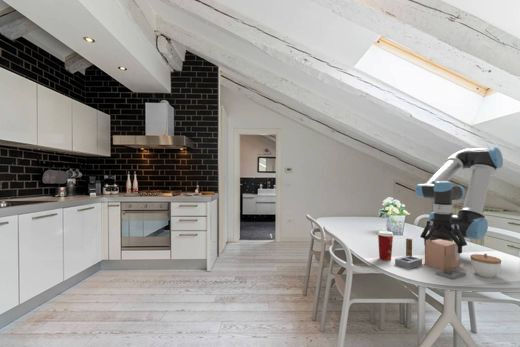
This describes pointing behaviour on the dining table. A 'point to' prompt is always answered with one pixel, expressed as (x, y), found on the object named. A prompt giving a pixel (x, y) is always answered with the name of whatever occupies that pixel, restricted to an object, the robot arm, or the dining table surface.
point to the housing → (439, 253)
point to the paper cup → (385, 244)
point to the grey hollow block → (408, 262)
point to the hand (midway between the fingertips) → (442, 256)
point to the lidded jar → (485, 265)
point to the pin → (408, 247)
